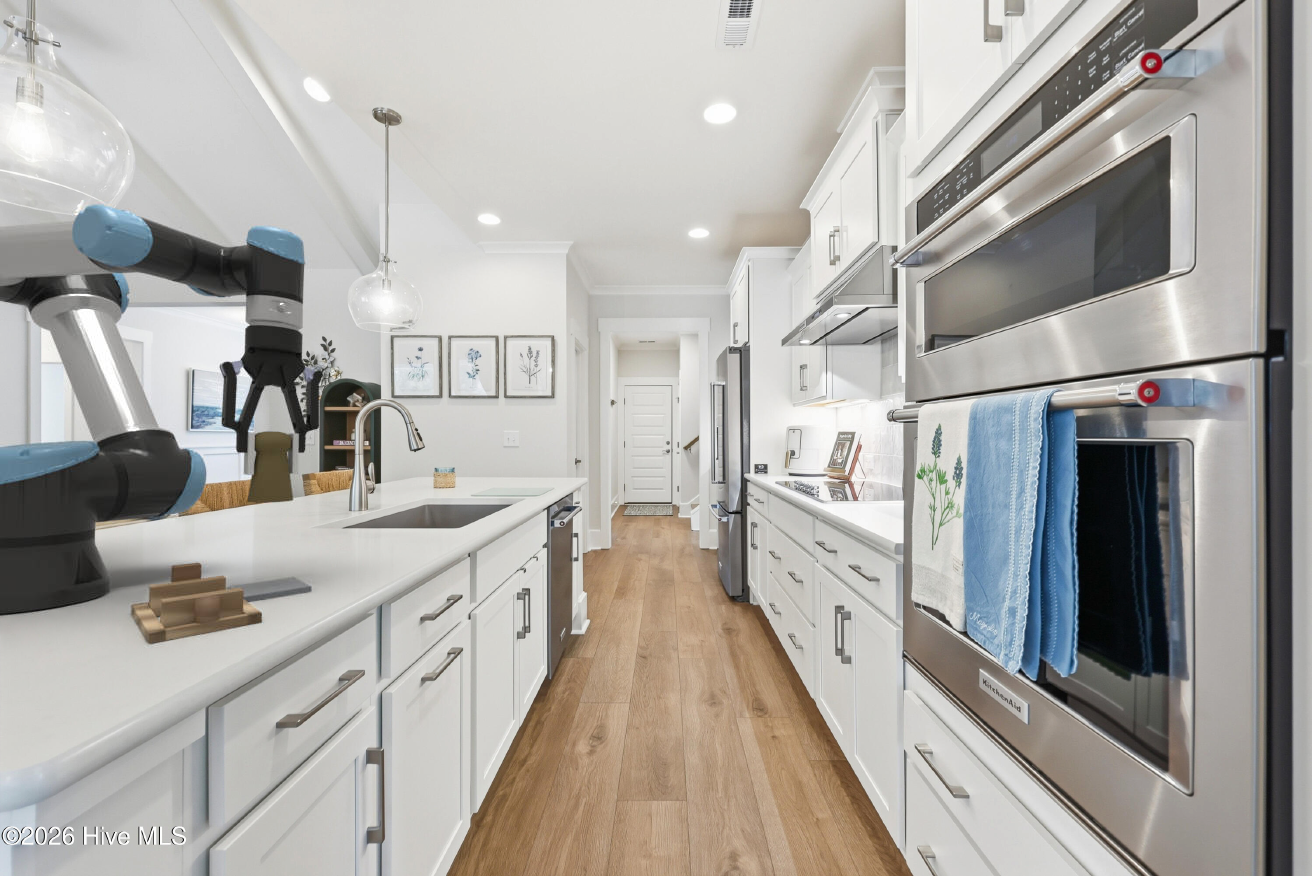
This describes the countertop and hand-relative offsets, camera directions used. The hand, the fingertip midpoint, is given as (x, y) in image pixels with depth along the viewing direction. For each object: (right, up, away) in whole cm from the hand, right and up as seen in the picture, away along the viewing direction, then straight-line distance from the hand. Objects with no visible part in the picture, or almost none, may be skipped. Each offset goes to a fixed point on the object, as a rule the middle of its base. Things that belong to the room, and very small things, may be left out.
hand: (271, 473), depth 87 cm
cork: (0, -4, 0) cm, 4 cm away
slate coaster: (0, -19, 0) cm, 19 cm away
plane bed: (-1, -18, -13) cm, 23 cm away
